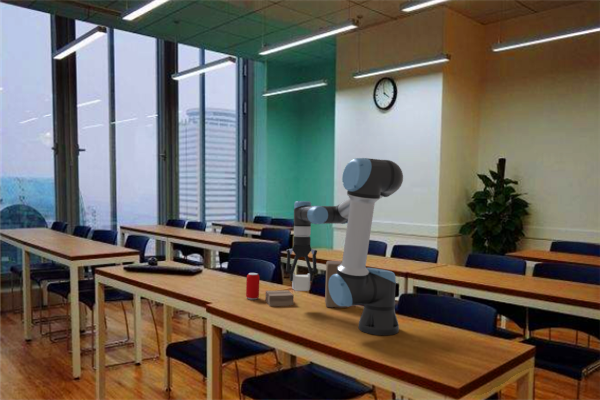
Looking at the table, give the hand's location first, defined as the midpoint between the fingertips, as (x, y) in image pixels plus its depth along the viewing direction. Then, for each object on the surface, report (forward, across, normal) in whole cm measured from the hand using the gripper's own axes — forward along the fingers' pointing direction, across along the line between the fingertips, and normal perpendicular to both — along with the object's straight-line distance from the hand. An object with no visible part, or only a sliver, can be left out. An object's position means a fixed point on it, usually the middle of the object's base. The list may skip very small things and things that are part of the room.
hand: (300, 288), depth 201 cm
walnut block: (+9, +8, -13) cm, 18 cm away
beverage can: (+9, +20, -22) cm, 31 cm away
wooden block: (+10, -18, -8) cm, 22 cm away
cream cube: (0, 0, 0) cm, 0 cm away
